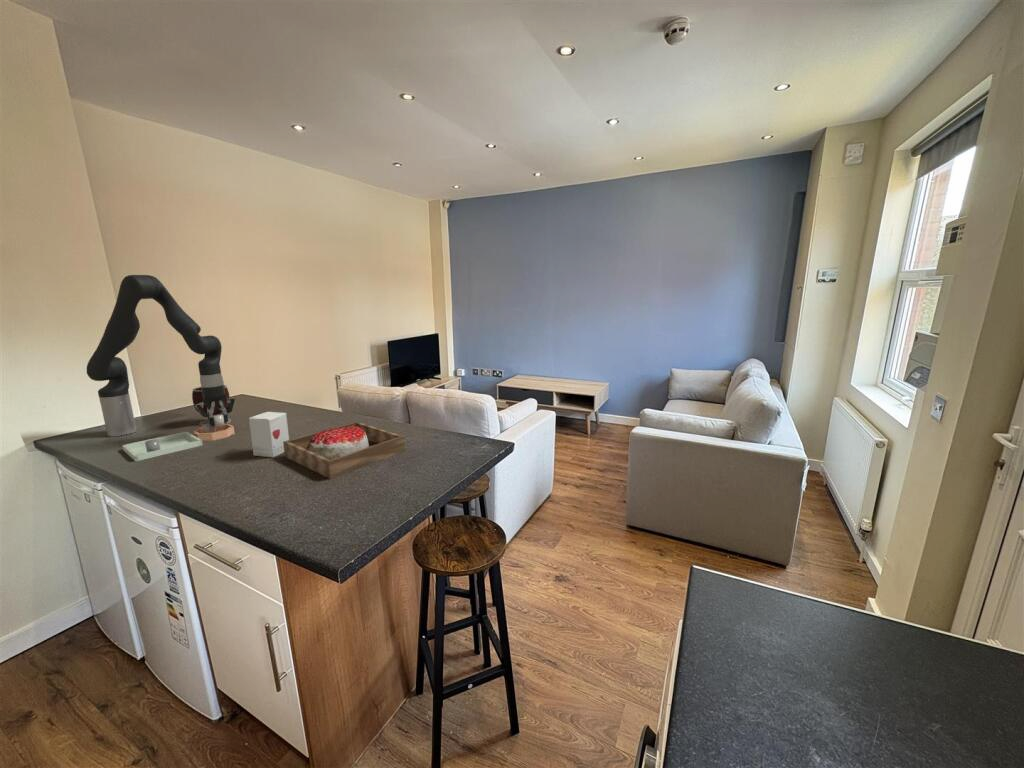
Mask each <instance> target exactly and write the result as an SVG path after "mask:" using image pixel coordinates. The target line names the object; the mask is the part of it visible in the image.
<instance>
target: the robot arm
mask: <svg viewBox="0 0 1024 768" xmlns="http://www.w3.org/2000/svg"><path fill="white" fill-rule="evenodd" d="M150 299H152V300H154V301H156V303H158V304H159V305H160V306H161V307H162V309H163V311H164V314H165V318H166V320H167V322H168V324H169V325H170V326H171V327H172V328H173V329H174V330H175V331H176V332H177V333H178V334H179V335H180V336H181V337H182V338H183V340H184V342H185V343H186V345H187V346H188V348H189V349H190V351H191V352H193V353H194V354H198V355H204V357H203V359H201V360H199V361H198V363H197V365H198V371H199V380H200V387H201V389H202V395H203V401H202V402H201V403H199V404H195V407H196V408H197V409H198V411H199V412H200V413H199V412H198V411H197V412H198V413H199V415H201V417H204V418H207V420H208V421H209V424H210V425H211V426H215V423H214V418H213V412H214V409H216V408H219V409H220V410H221V412H222V413H221V414H223V417H224V423H225V424H226V423H227V422H228V418H229V417H228V414H230V413H232V412H233V409H234V405H235V398H233V397H230V398H227V397H226V396H225V389H224V385H225V384H224V383H225V382H224V377H223V375H222V369H221V364H220V363H221V357H222V356H221V355H222V348H223V347H222V343H221V341H220V338H218V337H217V336H215V335H211V334H210V335H203V336H202V335H200V332H201V330H202V329H201V327H200V325H199V324H198V322H196V321H195V320H194V319H193V318H191V316H190V315H189V314H188V313H186V312H185V310H184V309H182V306H180V305H179V303H178V302H177V301H176V300H175V298H174V297H173V295H171V293H170V292H169V290H168V289H167V288H166V286H165V285H164V284H163V283H162V282H161V280H160V279H158V277H156V276H154V275H149V274H129V275H127V276H124V278H122V280H121V282H120V286H119V289H118V294H117V297H116V302H115V305H114V307H113V309H112V313H111V315H110V318H109V320H108V321H107V324H106V326H105V328H104V332H103V334H102V337H101V338H100V341H99V343H98V345H97V347H96V349H95V351H94V352H93V354H92V356H90V359H89V360H88V362H87V364H86V374H87V376H88V377H89V379H91V380H92V381H95V382H104V381H108V383H106V385H104V386H103V387H101V388H100V389H98V391H97V394H98V398H99V404H100V408H101V412H102V417H103V420H104V421H103V422H104V426H105V429H106V434H107V435H106V436H108V437H120V436H121V435H122V436H126V434H127V435H130V433H131V434H133V433H135V432H137V431H138V430H137V426H136V420H135V417H134V416H135V415H134V412H133V407H132V403H131V397H130V396H131V395H130V392H129V389H130V380H129V374H128V368H127V364H126V363H125V361H124V360H123V358H120V357H118V356H117V355H118V354H120V353H121V352H122V351H124V350H125V349H126V348H128V346H130V345H131V344H132V343H133V342H134V341H135V340H136V337H137V335H138V333H139V331H140V328H141V323H140V320H139V317H138V316H137V314H136V310H137V306H138V305H139V303H140V301H141V300H150ZM226 401H227V402H228V406H227V410H226V408H225V406H224V404H225V402H226ZM203 405H206V406H207V407H208V409H207V411H208V412H207V414H206V413H205V411H204V410H203ZM195 407H194V408H195ZM227 424H228V423H227ZM122 436H121V437H122Z"/></svg>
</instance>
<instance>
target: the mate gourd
mask: <svg viewBox="0 0 1024 768" xmlns="http://www.w3.org/2000/svg"><path fill="white" fill-rule="evenodd" d="M224 389H225V396H226V397H227V398H231V397H230V392H229V389H228V387H227V385H225V384H224ZM191 395H192V396H191V398H192V404H193V406H194V409H195V411H196V412H198V413H199V414H200V412H199V411H198V409H197V408H196V407H195V404H199V403H201V402H202V401H203V395H202V389H201V386H198V387H197V386H196V387H195V388H193V389H192V393H191ZM224 406H225V408H226V410H227V406H228V402H227V401H226V402H225V404H224ZM207 409H208V407H207V406H206V405H203V410H204V411H205V413H206V414H207V412H208V411H207ZM216 414H222V412H221V410H220V409H219V408H216V409H214V412H213V415H216ZM231 422H232V419H231V418H229V417H228V422H227V423H226V424H230V423H231ZM206 423H209V421H208V419H207V420H206V419H205V420H202V421H201V422H199V423H198V425H199V427H200V428H201V427H203V424H206Z"/></svg>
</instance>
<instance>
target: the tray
mask: <svg viewBox="0 0 1024 768" xmlns="http://www.w3.org/2000/svg"><path fill="white" fill-rule="evenodd" d="M149 440H159V444H160V450H156V451H151V452H147V450H146V445H145V442H146V441H149ZM121 446H122V451H123V452H125V453H126V455H128V456H129V457H130V458H131V459H132V460H133V461H134V462H138V461H144V460H148V459H151V458H155V457H156V458H157V457H160V456H163V455H168V454H172V453H176V452H180V451H184V450H189V449H193V448H197V447H201V446H204V444H203V441H202V440H201V439H199V438H197V437H196V436H194V435H193V433H190V432H188V431H183V432H178V433H173V434H169V435H163V436H158V437H154V438H149V439H145V440H141V441H135V442H131V443H127V444H126V443H125V444H123V445H121Z"/></svg>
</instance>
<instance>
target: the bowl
mask: <svg viewBox="0 0 1024 768" xmlns="http://www.w3.org/2000/svg"><path fill="white" fill-rule="evenodd" d="M192 435H194V436H196V437H197V438H199V439H201V440H202V442H210V441H217V440H221V439H226V438H229V437H230V436H231V435H235V428H234V425H232V424H230V423H227V424H225V426H224V427H221V428H215V432H213V433H204V429H203V426H202V427H201V426H200V427H199V428H197V429H194V430H193V431H192Z"/></svg>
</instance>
